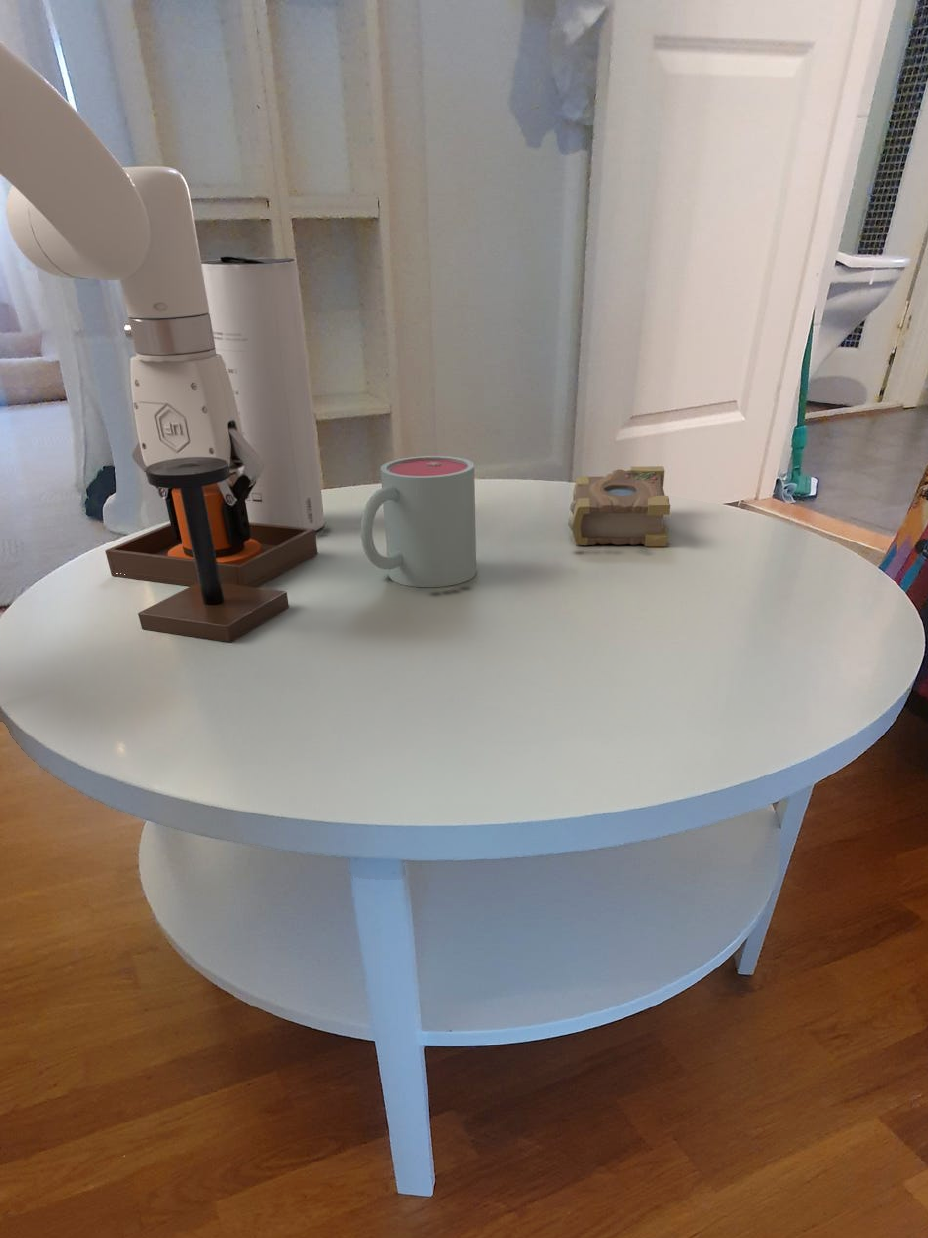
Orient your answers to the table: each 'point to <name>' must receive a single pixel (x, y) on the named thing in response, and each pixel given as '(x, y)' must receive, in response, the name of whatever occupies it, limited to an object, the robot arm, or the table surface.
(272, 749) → the table surface
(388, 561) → the mug
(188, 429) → the robot arm
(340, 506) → the table surface
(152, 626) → the hat stand
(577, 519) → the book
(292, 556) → the tray
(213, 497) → the hat
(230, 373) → the white cylindrical canister
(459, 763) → the table surface
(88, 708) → the table surface
